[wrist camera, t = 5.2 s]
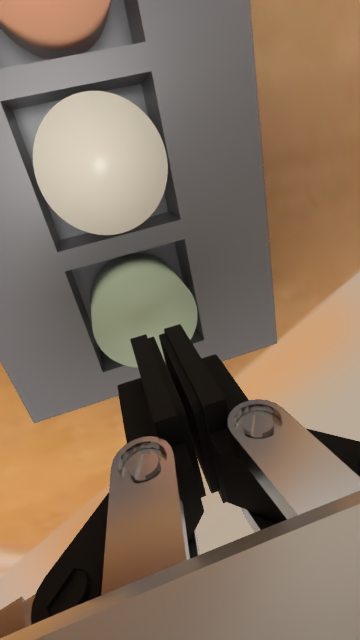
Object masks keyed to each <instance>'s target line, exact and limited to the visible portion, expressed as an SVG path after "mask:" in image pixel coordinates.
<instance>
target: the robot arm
mask: <svg viewBox="0 0 360 640" xmlns="http://www.w3.org/2000/svg"><path fill="white" fill-rule="evenodd" d="M159 338H160V343H161V346H162V350H163V354H164V358H165V361H164V359H163V357H162V354H161V352H160V349H159V347H158V345H157V342H156V340H155V338H154V337H150V338H148V337H147V335H146V334H145V335H141V336H138V337H135V338H131V339H130V341H131V344H132V348H133V351H134V355H135V358H136V362H137V366H138V369H139V373H140V376H141V378H138V379H135V380H132V381H128V382H125V383H122V384H119V385H118V386H117V387H118V393H119V399H120V405H121V411H122V417H123V423H124V429H125V434H126V440H127V444H126V445H125V446H124V447H123V448H122V449H121V450H120V451H118V453H117V454H116V456H115V458H114V459H113V463H112V467H111V476H110V489H109V493H108V494H107V496H106V497H105V498H104V500H103V501H102V502H101V504H100V505H99V506H98V508H97V509H96V510H95V512H94V513H93V514H92V516H91V517H90V518H89V520H88V521H87V522H86V524H85V525H84V526H83V528H82V529H81V530H80V532H79V533H78V534H77V535H76V537H75V538H74V540H73V541H72V542H71V544H70V545H69V546H68V548H67V549H66V550H65V551H64V553H63V554H62V555H61V557H60V558H59V560H58V561H57V562H56V563H55V565H54V566H53V567H52V569H51V570H50V571H49V573H48V574H47V575H46V577H45V578H44V580H43V582H42V583H41V585H40V587H39V588H38V590H37V593H36V594H35V595H33V596H32V597H30V598H29V599H27V600H26V601H25V600H24V599H23V597H20V598H19V599H17V600H16V601H14V602H12V603H11V604H9V605H8V606H6V607H5V608H3V609H1V610H0V640H360V442H359V441H355V440H351V439H346V438H342V437H338V436H334V435H330V434H326V433H322V432H317V431H313V430H309V429H305V428H304V427H303V426H302V425H301V424H300V423H299V422H298V421H297V420H295V419H294V418H293V417H292V416H291V415H290V414H289V413H288V412H287V411H285V410H284V409H283V408H282V407H280V406H279V405H277V404H276V403H273V402H270V401H267V400H248V399H247V397H246V396H245V394H244V393H243V391H242V390H241V389H240V387H239V386H238V384H237V383H236V382H235V380H234V379H233V377H232V376H231V374H230V373H229V372H228V370H227V369H226V367H225V366H224V364H223V363H222V362H221V360H220V359H219V357H218V356H217V355H216V354H214V355H211V356H207V357H204V358H201V357H200V355H199V354H198V352H197V350H196V349H195V347H194V346H193V344H192V342H191V341H190V339H189V337H188V336H187V334H186V332H185V331H184V329H183V328H182V326H181V325H180V324H178V325H175V326H172V327H168V328H165V329H164V334H160V335H159ZM165 362H166V364H165ZM197 458H198V461H199V463H200V466H201V468H202V471H203V474H204V476H205V479H206V481H207V483H208V486H209V489H210V491H211V493H214V492H217V491H218V492H219V494H220V496H221V499H222V501H223V503H225V502H228V503H231V504H234V505H236V506H239V507H241V508H242V511H243V514H244V515H245V518H246V519H247V521H248V522H249V524H250V526H251V527H252V529H253V530H254V531H255V533H253V534H251V535H248V536H245V537H243V538H241V539H238V540H236V541H233V542H231V543H228V544H226V545H223V546H221V547H218V548H216V549H213V550H211V551H209V552H206V553H204V554H201V555H200V553H199V547H198V540H197V535H196V532H195V529H196V527H197V524H198V523H199V520H200V519H201V517H202V515H203V512H204V509H203V505H202V501H201V497H204V496H206V494H205V489H204V485H203V481H202V477H201V473H200V469H199V465H198V461H197Z"/></svg>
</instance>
